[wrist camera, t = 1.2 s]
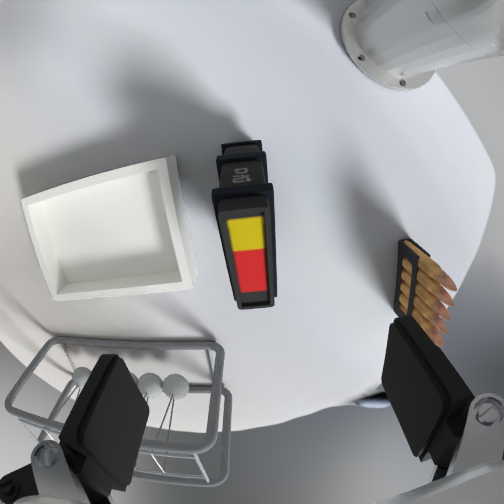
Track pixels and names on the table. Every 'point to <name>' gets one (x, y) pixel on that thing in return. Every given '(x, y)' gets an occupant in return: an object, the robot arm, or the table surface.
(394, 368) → the robot arm
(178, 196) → the parts tray
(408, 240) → the ammunition clip
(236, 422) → the table surface
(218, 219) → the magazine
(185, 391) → the newton's cradle
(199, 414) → the table surface
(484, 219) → the table surface
